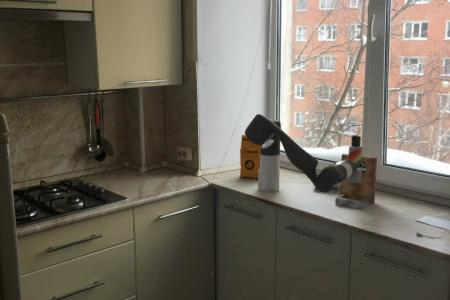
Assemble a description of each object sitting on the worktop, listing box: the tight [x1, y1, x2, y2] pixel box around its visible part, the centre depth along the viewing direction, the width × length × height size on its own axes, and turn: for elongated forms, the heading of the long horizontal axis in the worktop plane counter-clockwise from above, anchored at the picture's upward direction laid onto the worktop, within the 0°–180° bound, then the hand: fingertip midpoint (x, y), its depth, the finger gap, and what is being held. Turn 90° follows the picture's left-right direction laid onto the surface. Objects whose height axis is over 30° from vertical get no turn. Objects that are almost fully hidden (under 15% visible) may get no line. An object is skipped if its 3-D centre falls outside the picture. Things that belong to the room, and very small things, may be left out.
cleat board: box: [335, 153, 378, 210], centre depth 226 cm, size 15×12×20 cm
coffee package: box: [239, 134, 264, 180], centre depth 272 cm, size 10×12×22 cm
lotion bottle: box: [348, 134, 363, 183], centre depth 224 cm, size 6×6×20 cm
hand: (357, 163), depth 226 cm, fingers closed on lotion bottle, 5 cm apart
